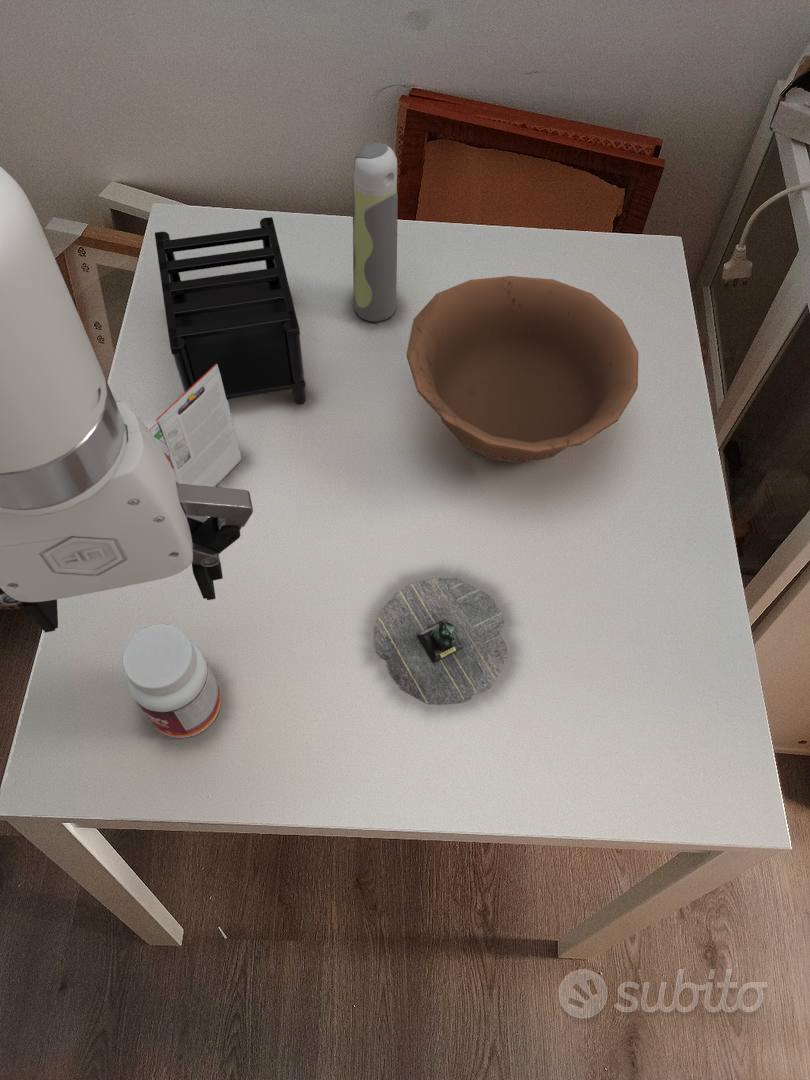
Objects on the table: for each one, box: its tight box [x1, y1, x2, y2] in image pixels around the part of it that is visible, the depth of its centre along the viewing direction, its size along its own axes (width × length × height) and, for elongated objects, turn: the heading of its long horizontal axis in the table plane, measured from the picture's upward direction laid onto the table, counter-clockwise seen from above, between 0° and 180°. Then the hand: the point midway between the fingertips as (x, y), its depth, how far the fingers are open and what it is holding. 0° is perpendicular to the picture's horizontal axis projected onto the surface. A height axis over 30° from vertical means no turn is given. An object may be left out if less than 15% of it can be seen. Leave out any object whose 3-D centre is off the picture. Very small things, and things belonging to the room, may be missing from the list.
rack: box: [154, 216, 307, 406], centre depth 85 cm, size 12×16×11 cm
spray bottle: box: [352, 142, 399, 323], centre depth 86 cm, size 5×5×20 cm
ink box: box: [148, 364, 242, 487], centre depth 76 cm, size 4×8×15 cm, turn 145°
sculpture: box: [374, 577, 509, 705], centre depth 74 cm, size 12×9×8 cm
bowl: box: [406, 275, 639, 464], centre depth 82 cm, size 22×22×11 cm
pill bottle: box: [121, 623, 222, 739], centre depth 66 cm, size 6×6×11 cm
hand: (130, 594), depth 52 cm, fingers open, 9 cm apart
